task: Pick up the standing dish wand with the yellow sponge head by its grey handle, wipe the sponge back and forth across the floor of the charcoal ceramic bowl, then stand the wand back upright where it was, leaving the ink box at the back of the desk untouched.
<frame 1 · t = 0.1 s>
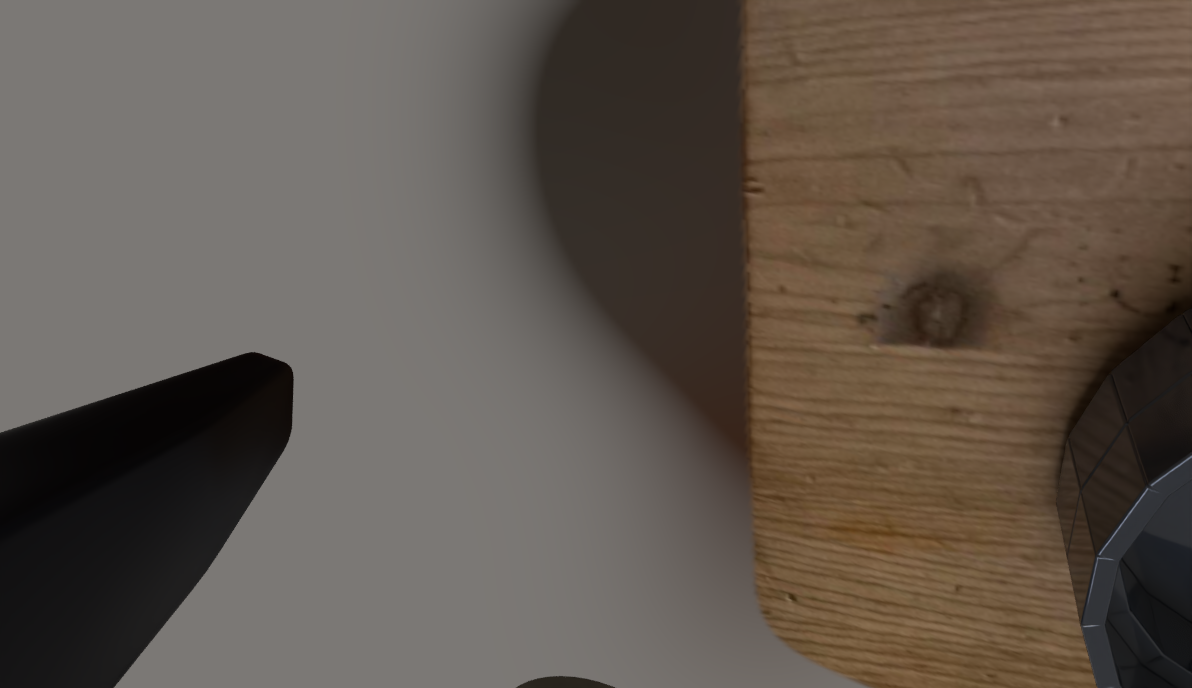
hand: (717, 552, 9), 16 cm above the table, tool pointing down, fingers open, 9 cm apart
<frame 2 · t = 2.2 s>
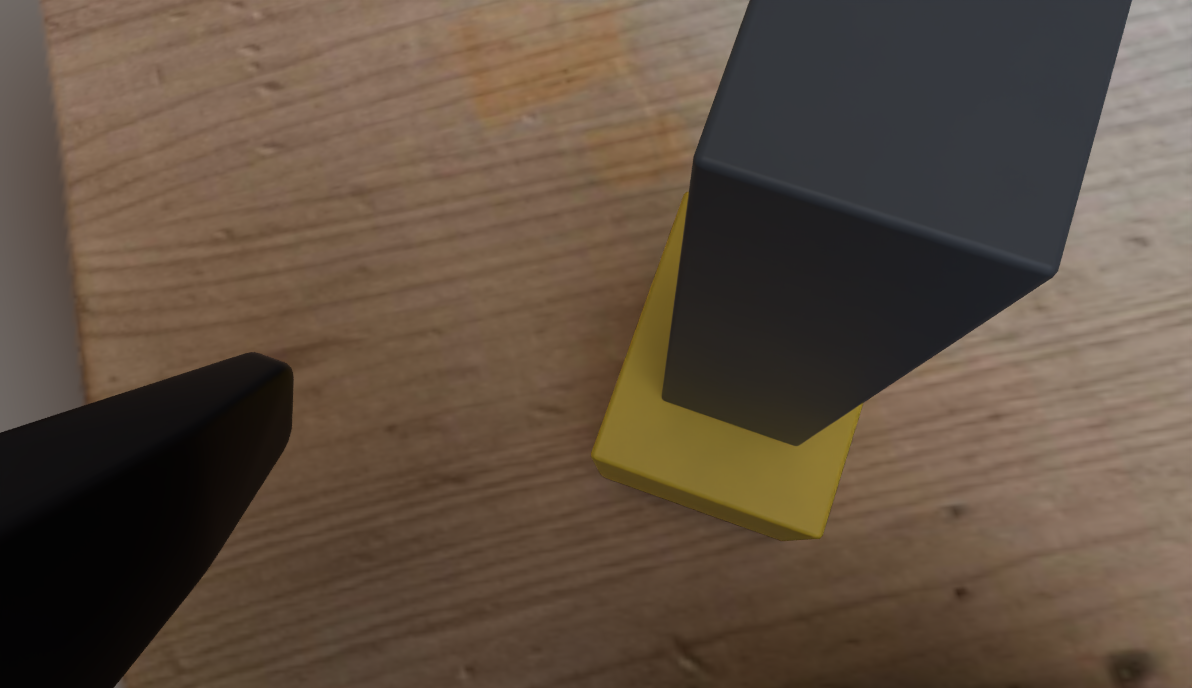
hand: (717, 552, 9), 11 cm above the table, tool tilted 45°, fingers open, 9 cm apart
sponge wand: (729, 394, 20), on the table
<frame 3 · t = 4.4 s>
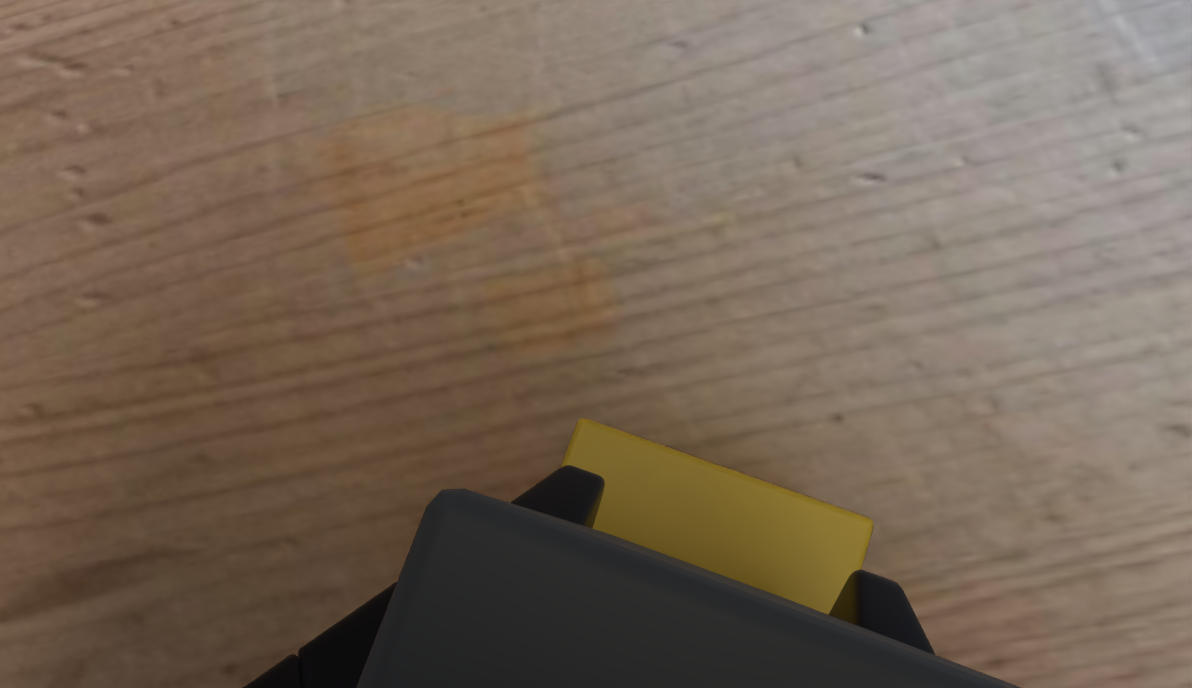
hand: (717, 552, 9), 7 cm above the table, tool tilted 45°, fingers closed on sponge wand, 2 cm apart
sponge wand: (657, 629, 16), on the table, touching gripper
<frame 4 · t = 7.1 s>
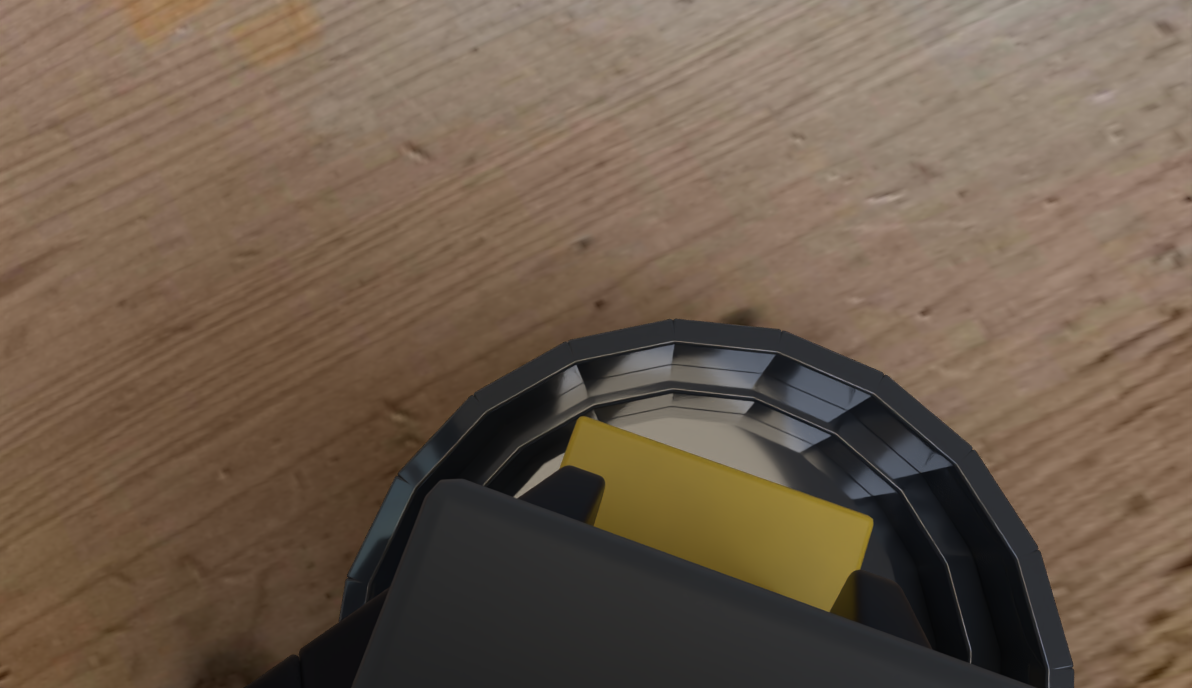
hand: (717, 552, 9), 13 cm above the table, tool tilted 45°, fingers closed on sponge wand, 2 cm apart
sponge wand: (657, 628, 16), point 6 cm above the table, touching gripper
bowl: (683, 648, 22), on the table
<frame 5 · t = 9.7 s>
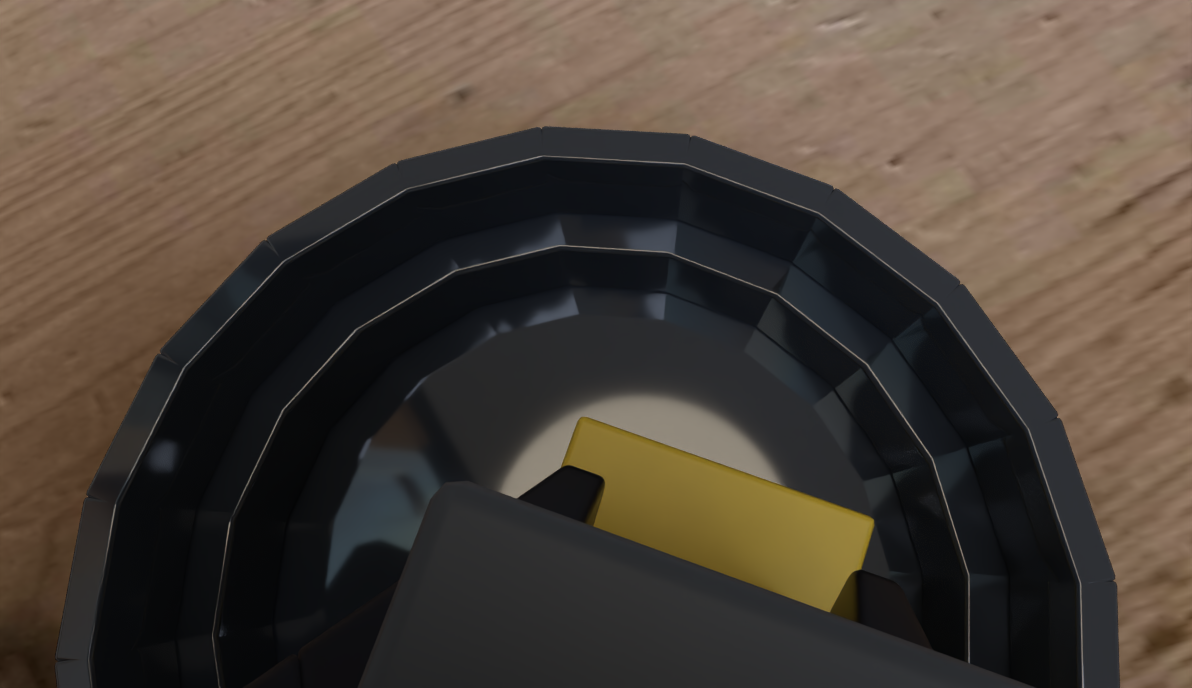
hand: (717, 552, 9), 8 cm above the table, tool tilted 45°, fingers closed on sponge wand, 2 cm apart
sponge wand: (657, 628, 16), point 1 cm above the table, touching gripper
bowl: (595, 597, 17), on the table
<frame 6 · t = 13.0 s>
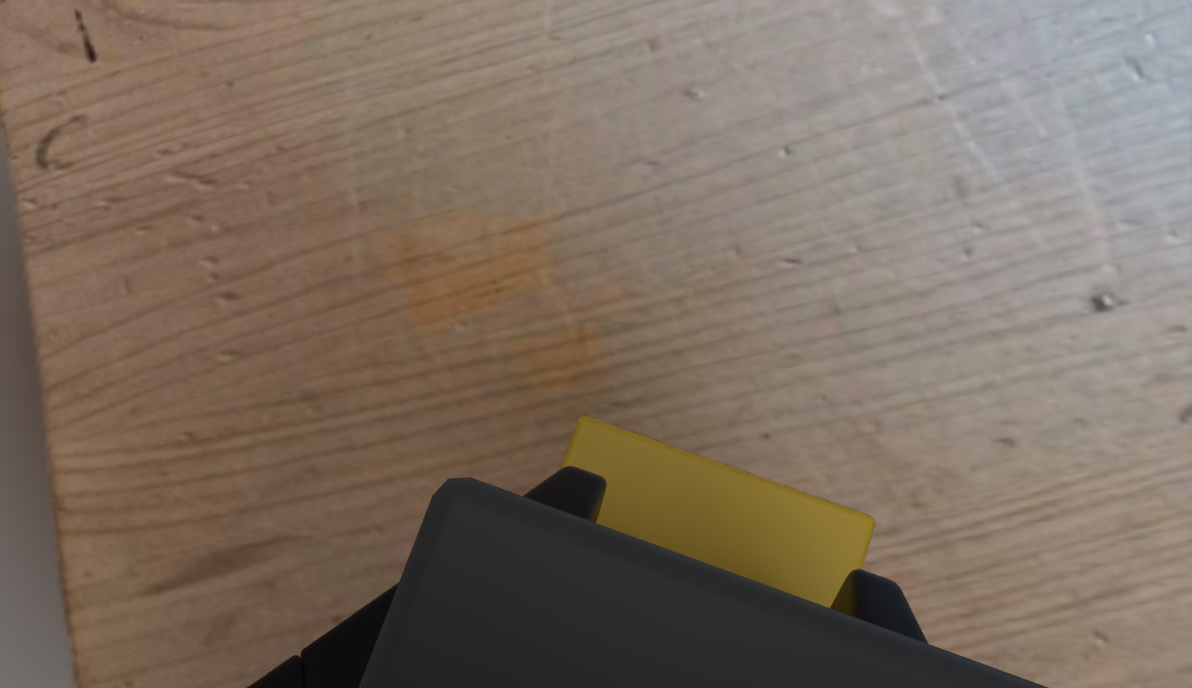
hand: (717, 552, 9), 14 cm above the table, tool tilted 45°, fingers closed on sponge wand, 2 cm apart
sponge wand: (658, 628, 16), point 7 cm above the table, touching gripper
when the fingers open (7 cm above the table, at t = 15.3 s): sponge wand stays where it is, on the table.
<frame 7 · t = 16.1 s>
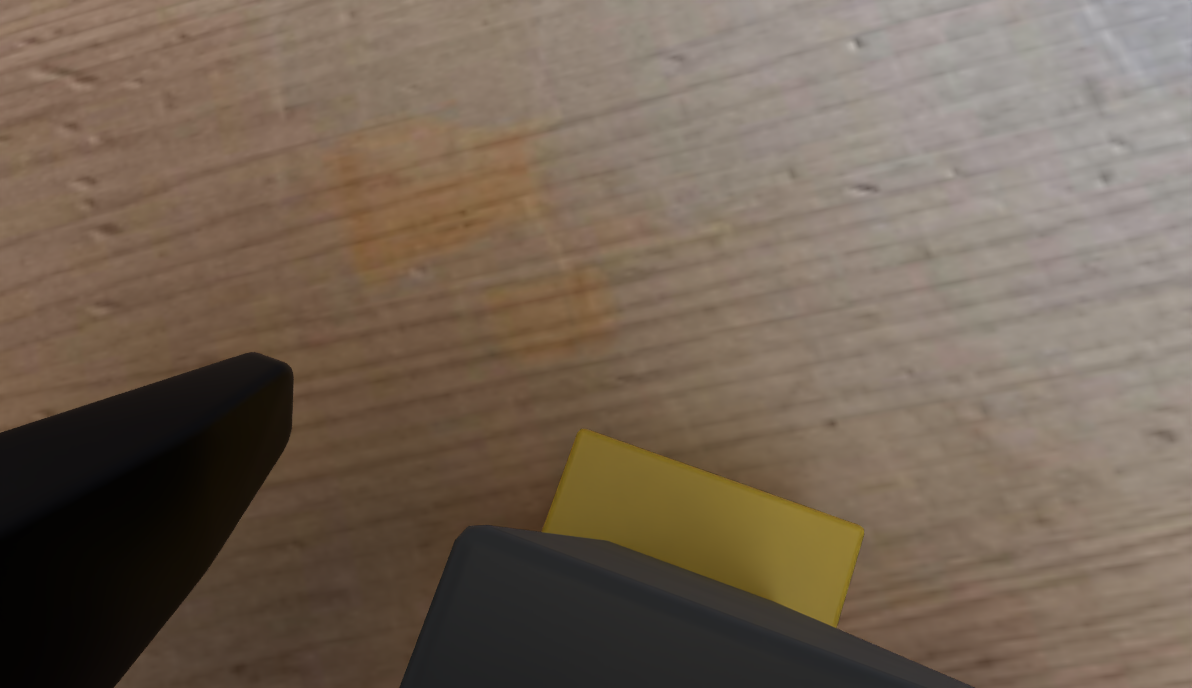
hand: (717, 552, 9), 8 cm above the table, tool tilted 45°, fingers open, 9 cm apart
sponge wand: (655, 633, 16), on the table
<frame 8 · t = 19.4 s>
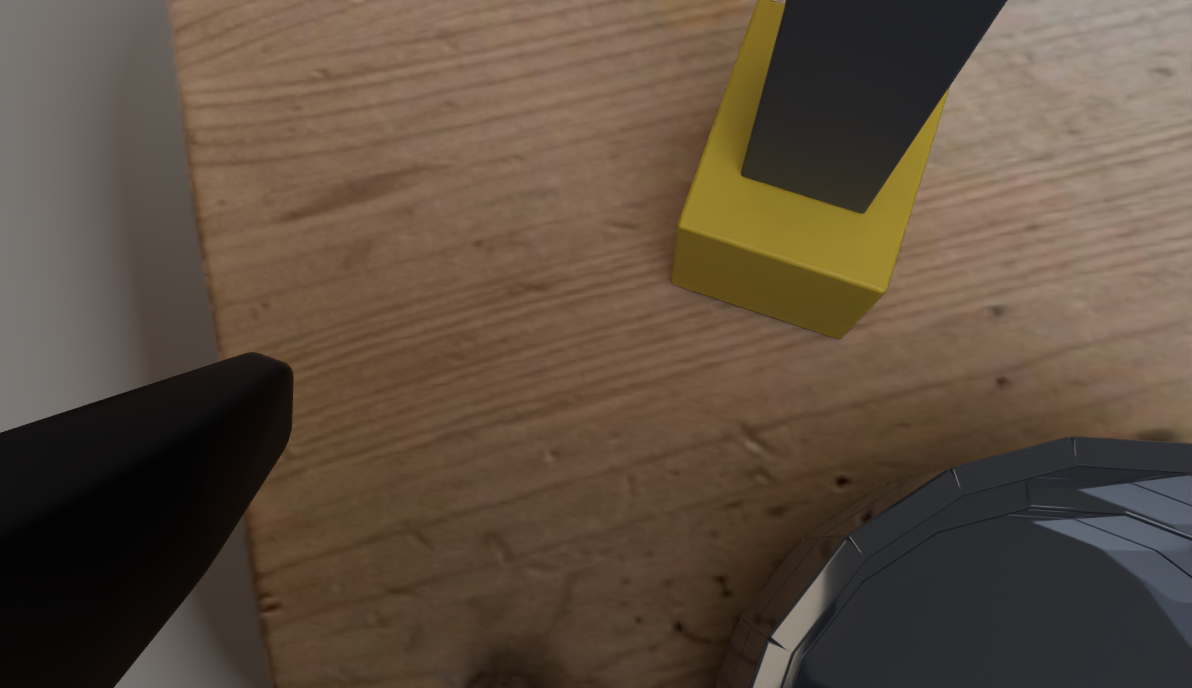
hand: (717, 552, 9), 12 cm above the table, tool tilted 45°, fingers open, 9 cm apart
sponge wand: (788, 212, 22), on the table
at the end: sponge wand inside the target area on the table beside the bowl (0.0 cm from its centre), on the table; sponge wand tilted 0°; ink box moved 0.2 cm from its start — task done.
